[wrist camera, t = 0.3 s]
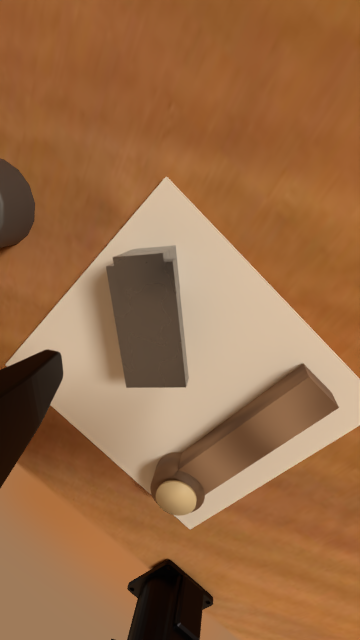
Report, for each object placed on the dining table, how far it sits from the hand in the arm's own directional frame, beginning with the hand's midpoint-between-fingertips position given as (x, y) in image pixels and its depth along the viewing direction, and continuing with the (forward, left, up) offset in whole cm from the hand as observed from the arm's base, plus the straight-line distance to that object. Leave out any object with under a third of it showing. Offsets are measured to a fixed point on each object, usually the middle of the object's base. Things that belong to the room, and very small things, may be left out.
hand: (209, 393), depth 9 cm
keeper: (-5, +2, -14) cm, 15 cm away
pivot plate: (-8, -3, -15) cm, 17 cm away
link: (-8, -9, -14) cm, 19 cm away
